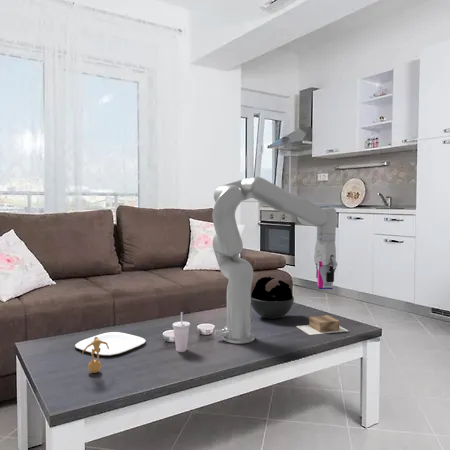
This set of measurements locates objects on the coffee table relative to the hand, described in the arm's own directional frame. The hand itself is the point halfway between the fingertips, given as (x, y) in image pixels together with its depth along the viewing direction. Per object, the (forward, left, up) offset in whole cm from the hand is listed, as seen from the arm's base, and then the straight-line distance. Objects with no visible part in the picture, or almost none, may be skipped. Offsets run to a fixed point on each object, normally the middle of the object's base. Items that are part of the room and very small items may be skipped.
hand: (324, 279), depth 183 cm
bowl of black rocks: (-14, +23, -22) cm, 34 cm away
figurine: (-92, -19, -22) cm, 96 cm away
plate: (-86, +6, -22) cm, 89 cm away
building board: (-1, 0, -21) cm, 21 cm away
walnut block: (0, 0, -21) cm, 21 cm away
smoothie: (-62, -6, -22) cm, 66 cm away
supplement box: (0, 0, -4) cm, 4 cm away
